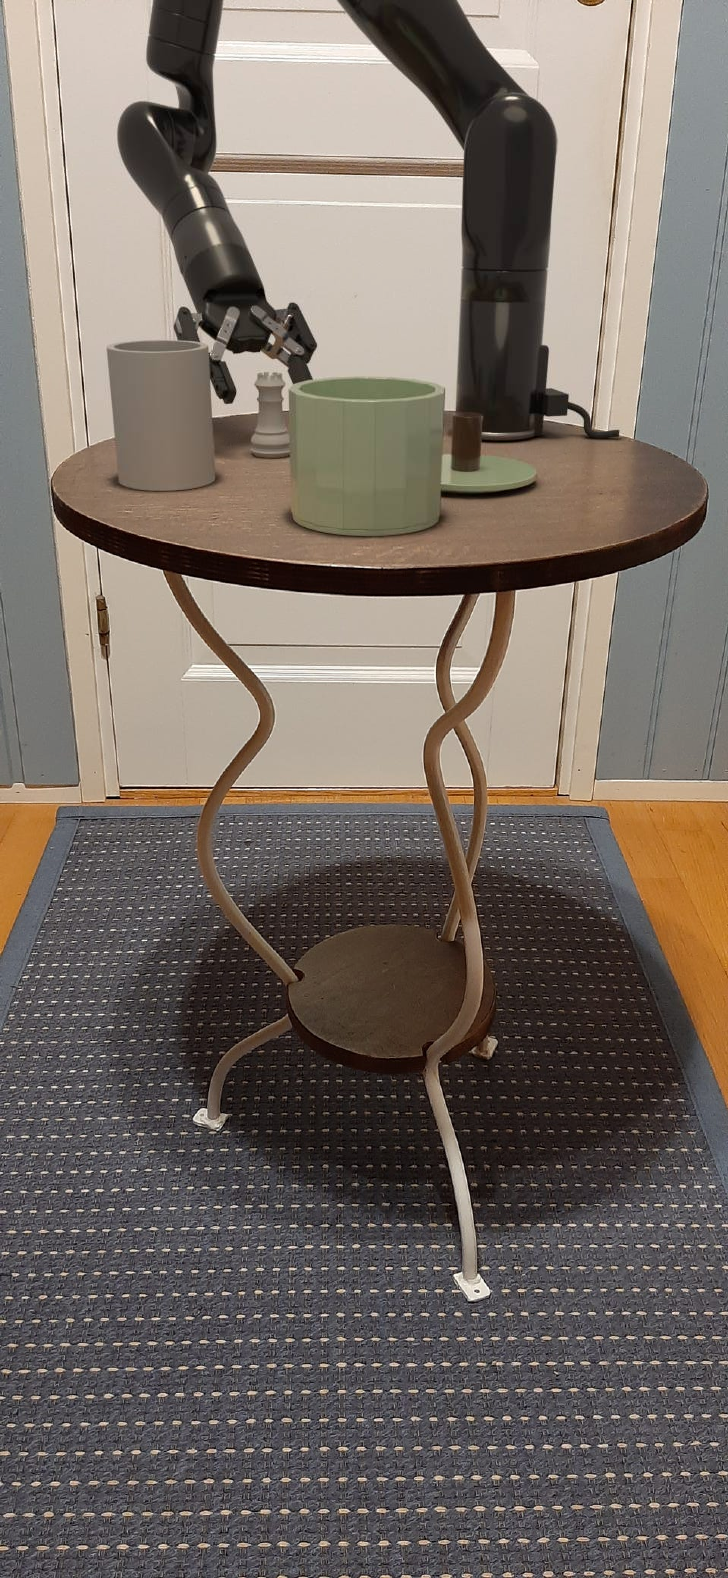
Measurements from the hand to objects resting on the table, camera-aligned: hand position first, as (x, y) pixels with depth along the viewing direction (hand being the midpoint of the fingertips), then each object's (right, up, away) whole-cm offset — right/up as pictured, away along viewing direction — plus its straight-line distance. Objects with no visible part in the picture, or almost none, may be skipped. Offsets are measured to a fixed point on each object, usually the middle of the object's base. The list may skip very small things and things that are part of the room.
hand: (269, 396), depth 118 cm
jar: (+10, -17, -20) cm, 28 cm away
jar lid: (+19, -10, -8) cm, 23 cm away
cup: (-9, -11, -8) cm, 16 cm away
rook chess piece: (0, -5, +3) cm, 6 cm away
